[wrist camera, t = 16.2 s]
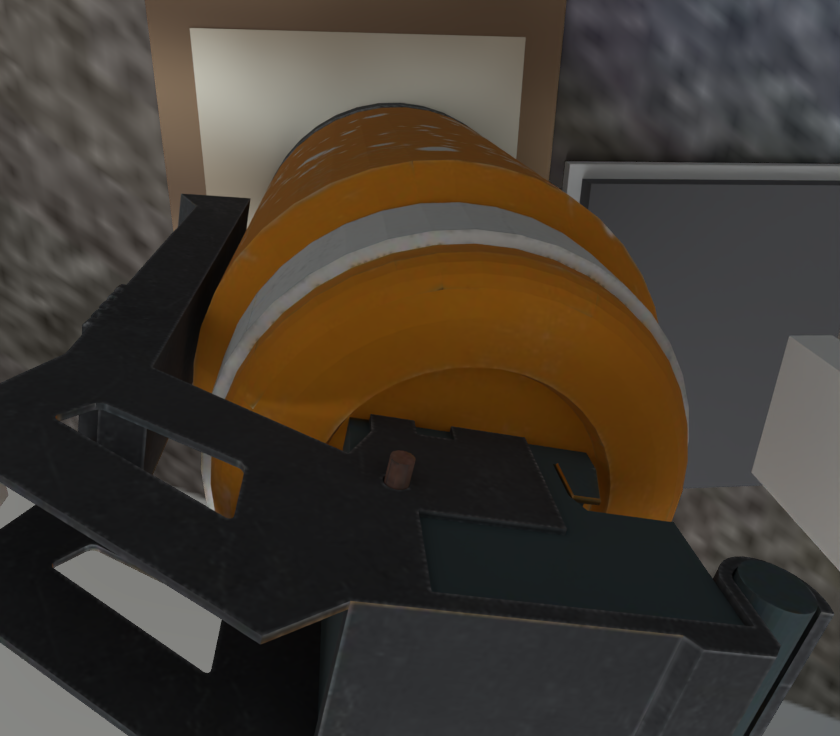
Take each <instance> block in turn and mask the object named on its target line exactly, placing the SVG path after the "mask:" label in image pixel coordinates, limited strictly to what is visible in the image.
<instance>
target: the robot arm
mask: <svg viewBox="0 0 840 736" xmlns="http://www.w3.org/2000/svg"><path fill="white" fill-rule="evenodd" d="M751 473H752V474H753V475H754V476H755V477H756V478H757V479H758V480H759V481H760V483H761V484H762V485H763V486H764V487H765V488H766V489H767V490H768V492H769V493H770V494H771V495H772V496H773V497H774V498H775V499H776V500H777V502H778V503H779V504H780V505H781V506H782V507H783V508H784V509H785V511H786V512H787V513H788V514H789V515H790V516H791V517H792V518H793V520H794V521H795V522H796V523H797V524H798V525H799V526H800V527H801V528H802V530H803V531H804V532H805V533H806V534H807V535H808V536H809V537H810V539H811V540H812V541H813V542H814V543H815V544H816V545H817V546H818V547H819V549H820V550H821V551H822V552H823V553H824V554H825V555H826V556H827V558H828V559H829V560H830V561H831V562H832V563H833V564H834V565H835V566H836V568H837V569H838V570H839V571H840V340H839V339H837V338H836V337H834V336H833V335H804V336H789V339H788V342H787V346H786V349H785V353H784V357H783V360H782V364H781V367H780V371H779V375H778V378H777V382H776V386H775V389H774V393H773V396H772V400H771V404H770V407H769V411H768V414H767V418H766V422H765V425H764V429H763V433H762V436H761V440H760V443H759V447H758V451H757V454H756V458H755V461H754V465H753V469H752V472H751ZM7 497H8V492H7V488H6V486H5V485H3V484H2V483H0V506H1V505H2V504H3V502H4V501H5V499H6V498H7Z"/></svg>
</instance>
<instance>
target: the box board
mask: <svg viewBox="0 0 840 736" xmlns="http://www.w3.org/2000/svg"><path fill="white" fill-rule="evenodd" d="M566 1H567V0H145V5H146V13H147V21H148V29H149V37H150V45H151V53H152V61H153V69H154V77H155V86H156V94H157V102H158V110H159V118H160V126H161V134H162V142H163V150H164V158H165V166H166V175H167V183H168V191H169V199H170V207H171V215H172V223H173V231H175V229H176V228H177V227H178V220H179V209H180V198H181V194H196V195H210V196H225V197H239V198H251V199H250V207H249V215H248V222H247V228H248V226H249V224H250V222H251V220H252V218H253V216H254V214H255V212H256V210H257V208H258V206H259V204H260V202H261V200H262V198H263V196H264V195H265V193H266V191H267V189H268V187H269V185H270V183H271V181H272V179H273V177H274V175H275V173H276V172H277V170H278V168H279V167H280V165H281V163H282V162H283V160H284V159H285V157H286V156H287V154H288V153H289V152H290V151H291V150H292V149H293V148H294V146H295V145H296V144H297V143H298V142H299V141H300V140H301V139H302V138H303V137H304V136H305V135H307V134H308V133H309V132H310V131H312V130H313V129H314V128H315V127H316V126H318V125H320V124H321V123H323V122H325V121H327V120H328V119H330V118H332V117H333V116H335V115H337V114H340V113H343V112H345V111H348V110H351V109H354V108H356V107H361V106H366V105H371V104H377V103H407V104H414V105H420V106H425V107H428V108H431V109H434V110H437V111H440V112H443V113H445V114H447V115H449V116H451V117H453V118H455V119H457V120H459V121H460V122H462V123H464V124H465V125H467V126H468V127H470V128H471V129H473V130H474V131H476V132H477V133H479V134H480V135H481V136H483V137H484V138H486V139H487V140H489V141H490V142H492V143H493V144H495V145H496V146H498V147H499V148H501V149H502V150H503V151H505V152H506V153H508V154H509V155H511V156H512V157H514V158H515V159H517V160H518V161H520V162H521V163H523V164H524V165H525V166H527V167H528V168H530V169H531V170H533V171H534V172H536V173H537V174H539V175H540V176H542V177H543V178H545V179H546V180H547V181H549V174H550V164H551V154H552V143H553V133H554V123H555V113H556V103H557V93H558V82H559V72H560V62H561V52H562V42H563V32H564V21H565V11H566ZM192 385H193V384H192Z"/></svg>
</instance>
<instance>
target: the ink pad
mask: <svg viewBox="0 0 840 736" xmlns="http://www.w3.org/2000/svg"><path fill="white" fill-rule="evenodd" d="M562 191H564V192H565V193H567V194H568V195H569V196H571V197H572V198H573V199H575V200H576V201H577V202H579V203H580V204H581V205H583V206H584V207H585V208H586V209H588V210H589V211H590V212H592V213H593V214H594V215H596V216H597V217H598V218H600V220H601V221H602V222H603V223H604V224H605V225H606V226H607V227H608V228H609V229H610V231H611V232H612V233H613V234H614V235H615V236H616V237H617V238H618V239H619V240H620V242H621V243H622V244H623V245H624V246H625V248H626V249H627V251H628V253H629V254H630V256H631V257H632V259H633V261H634V262H635V264H636V265H637V267H638V269H639V270H640V272H641V274H642V275H643V278H644V280H645V283H646V285H647V288H648V290H649V293H650V295H651V298H652V301H653V303H654V306H655V309H656V314H657V319H658V324H659V326H660V328H661V329H662V331H663V332H664V334H665V335H666V337H667V339H668V340H669V342H670V343H671V346H672V349H673V351H674V354H675V356H676V359H677V361H678V364H679V366H680V369H681V371H682V374H683V379H684V384H685V389H686V395H687V400H688V405H689V442H688V462H687V468H686V473H685V479H684V485H683V488H708V487H734V486H760V485H762V484H761V483H760V481H759V480H758V479H757V478H756V477H755V476H754V475H753V474H752V473H751V472H752V469H753V465H754V461H755V458H756V454H757V451H758V447H759V443H760V440H761V436H762V433H763V429H764V425H765V422H766V418H767V414H768V411H769V407H770V404H771V400H772V396H773V393H774V389H775V386H776V382H777V378H778V375H779V371H780V367H781V364H782V360H783V357H784V353H785V349H786V346H787V342H788V339H789V336H804V335H833V336H834V337H836V338H837V337H838V333H839V330H840V164H797V163H693V162H589V161H565V168H564V177H563V187H562Z"/></svg>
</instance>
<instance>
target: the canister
mask: <svg viewBox="0 0 840 736" xmlns="http://www.w3.org/2000/svg"><path fill="white" fill-rule="evenodd" d="M250 199H251V198H239V197H225V196H210V195H196V194H181V198H180V209H179V220H178V227H177V228H176V229H175V231H174V232H173V233H172V234H171V235H170V236H169V237H168V239H167V240H166V241H165V242H164V243H163V244H162V245H161V246H160V248H159V249H158V250H157V251H156V252H155V253H154V254H153V255H152V257H151V258H150V259H149V260H148V261H147V262H146V263H145V264H144V266H143V267H142V268H141V269H140V270H139V271H138V272H137V273H136V275H135V276H134V277H133V278H132V279H131V280H130V281H129V283H128V284H127V285H124V284H121V285H119V286H118V287H117V288H116V289H115V290H114V292H113V293H112V294H110V295H109V297H108V298H107V300H106V301H105V302H103V303H102V304H101V305H100V306H99V309H98V310H96V311H95V312H94V313H93V314H92V315H91V318H89V319H88V320H87V321H86V322H85V323H84V324H83V325H82V336H81V337H80V338H79V339H78V340H77V341H76V342H75V343H74V345H73V346H72V347H71V348H70V349H69V350H68V351H67V352H66V354H63V355H61V356H59V357H57V358H55V359H52V360H50V361H48V362H46V363H44V364H41V365H39V366H37V367H35V368H33V369H30V370H28V371H26V372H24V373H21V374H19V375H17V376H15V377H13V378H10V379H8V380H6V381H4V382H2V383H0V483H2V484H3V485H5V486H7V487H8V488H10V489H11V490H13V491H15V492H16V493H18V494H20V495H21V496H23V497H24V498H26V499H28V500H29V501H31V502H33V503H34V504H36V505H35V506H33V507H32V508H30V509H29V510H27V511H26V512H25V513H23V514H21V515H20V516H19V517H17V518H16V519H14V520H13V521H11V522H10V523H9V524H7V525H6V526H4V527H3V528H1V529H0V643H2V644H3V645H4V646H6V647H7V648H8V649H10V650H11V651H13V652H14V653H15V654H17V655H18V656H20V657H21V658H22V659H24V660H25V661H27V662H28V663H29V664H30V665H32V666H33V667H35V668H36V669H37V670H39V671H40V672H42V673H43V674H44V675H46V676H47V677H48V678H50V679H51V680H52V681H54V682H55V683H57V684H58V685H60V686H61V687H62V688H63V689H65V690H66V691H68V692H69V693H70V694H72V695H73V696H74V697H76V698H77V699H79V700H80V701H81V702H83V703H84V704H85V705H87V706H88V707H90V708H91V709H92V710H94V711H95V712H97V713H98V714H99V715H101V716H102V717H103V718H105V719H106V720H107V721H109V722H110V723H112V724H113V725H114V726H116V727H117V728H118V729H120V730H121V731H123V732H124V733H125V734H127V735H128V736H762V735H763V733H764V731H765V730H766V728H767V726H768V725H769V723H770V721H771V720H772V718H773V716H774V714H775V713H776V711H777V710H778V708H779V706H780V705H781V703H782V701H783V699H784V698H785V696H786V694H787V693H788V691H789V689H790V688H791V686H792V684H793V683H794V681H795V679H796V678H797V676H798V674H799V673H800V671H801V669H802V668H803V666H804V664H805V663H806V661H807V659H808V658H809V656H810V654H811V653H812V651H813V649H814V647H815V646H816V644H817V642H818V641H819V639H820V637H821V636H822V634H823V632H824V631H825V629H826V627H827V626H828V624H829V622H830V621H831V619H832V617H833V616H834V613H833V611H832V609H831V607H830V606H829V605H828V603H827V602H826V601H825V600H824V598H823V597H822V596H821V595H820V594H819V593H818V592H817V591H816V590H814V589H813V588H812V587H811V586H809V585H808V584H807V583H806V582H804V581H803V580H801V579H800V578H798V577H797V576H795V575H793V574H792V573H790V572H788V571H786V570H784V569H782V568H780V567H778V566H776V565H773V564H771V563H768V562H765V561H762V560H759V559H755V558H750V557H731V558H728V559H726V560H724V561H723V562H722V563H721V564H720V566H719V568H718V570H717V572H716V574H715V576H714V578H713V579H712V577H711V576H710V574H709V573H708V572H707V570H706V569H705V567H704V566H703V564H702V563H701V561H700V560H699V558H698V557H697V556H696V554H695V553H694V551H693V550H692V548H691V547H690V545H689V544H688V542H687V541H686V540H685V538H684V537H683V535H682V534H681V532H680V531H679V529H678V528H677V526H676V525H675V524H674V522H671V521H672V519H673V516H674V513H675V511H676V508H677V505H678V502H679V499H680V496H681V494H682V490H683V485H684V479H685V473H686V468H687V462H688V442H689V405H688V400H687V395H686V389H685V384H684V379H683V374H682V371H681V369H680V366H679V364H678V361H677V359H676V356H675V354H674V351H673V349H672V346H671V343H670V342H669V340H668V339H667V337H666V335H665V334H664V332H663V331H662V329H661V328H660V326H659V324H658V319H657V314H656V309H655V306H654V303H653V301H652V298H651V295H650V293H649V290H648V288H647V285H646V283H645V280H644V278H643V275H642V274H641V272H640V270H639V269H638V267H637V265H636V264H635V262H634V261H633V259H632V257H631V256H630V254H629V253H628V251H627V249H626V248H625V246H624V245H623V244H622V243H621V242H620V240H619V239H618V238H617V237H616V236H615V235H614V234H613V233H612V232H611V231H610V229H609V228H608V227H607V226H606V225H605V224H604V223H603V222H602V221H601V220H600V218H598V217H597V216H596V215H594V214H593V213H592V212H590V211H589V210H588V209H586V208H585V207H584V206H583V205H581V204H580V203H579V202H577V201H576V200H575V199H573V198H572V197H571V196H569V195H568V194H567V193H565V192H564V191H562V190H561V189H559V188H558V187H556V186H555V185H553V184H552V183H550V182H549V181H547V180H546V179H545V178H543V177H542V176H540V175H539V174H537V173H536V172H534V171H533V170H531V169H530V168H528V167H527V166H525V165H524V164H523V163H521V162H520V161H518V160H517V159H515V158H514V157H512V156H511V155H509V154H508V153H506V152H505V151H503V150H502V149H501V148H499V147H498V146H496V145H495V144H493V143H492V142H490V141H489V140H487V139H486V138H484V137H483V136H481V135H480V134H479V133H477V132H476V131H474V130H473V129H471V128H470V127H468V126H467V125H465V124H464V123H462V122H460V121H459V120H457V119H455V118H453V117H451V116H449V115H447V114H445V113H443V112H440V111H437V110H434V109H431V108H428V107H425V106H420V105H414V104H407V103H377V104H371V105H366V106H361V107H356V108H354V109H351V110H348V111H345V112H343V113H340V114H337V115H335V116H333V117H332V118H330V119H328V120H327V121H325V122H323V123H321V124H320V125H318V126H316V127H315V128H314V129H313V130H312V131H310V132H309V133H308V134H307V135H305V136H304V137H303V138H302V139H301V140H300V141H299V142H298V143H297V144H296V145H295V146H294V148H293V149H292V150H291V151H290V152H289V153H288V154H287V156H286V157H285V159H284V160H283V162H282V163H281V165H280V167H279V168H278V170H277V172H276V173H275V175H274V177H273V179H272V181H271V183H270V185H269V187H268V189H267V191H266V193H265V195H264V196H263V198H262V200H261V202H260V204H259V206H258V208H257V210H256V212H255V214H254V216H253V218H252V220H251V222H250V224H249V226H248V228H247V222H248V215H249V207H250ZM192 384H193V385H192ZM77 415H79V426H78V432H77V431H76V430H74V429H72V428H71V427H69V426H67V425H65V424H64V423H62V422H60V421H61V420H64V419H67V418H71V417H74V416H77ZM168 438H170V439H172V440H175V441H177V442H179V443H181V444H184V445H186V446H188V447H191V448H193V449H195V450H198V451H200V452H201V472H202V478H203V484H204V490H205V496H206V502H207V505H208V507H207V506H205V505H203V504H202V503H200V502H198V501H196V500H195V499H193V498H191V497H190V496H188V495H186V494H184V493H183V492H181V491H179V490H177V489H176V488H174V487H172V486H171V485H169V484H167V483H165V482H164V481H162V480H160V479H159V478H157V477H155V476H153V473H154V470H155V468H156V466H157V464H158V461H159V459H160V457H161V454H162V452H163V450H164V448H165V445H166V443H167V441H168ZM90 550H95V551H99V552H101V553H103V554H105V555H107V556H109V557H111V558H113V559H115V560H117V561H119V562H121V563H123V564H125V565H127V566H129V567H131V568H133V569H135V570H138V571H139V572H141V573H143V574H145V575H147V576H150V577H151V578H154V579H155V580H158V581H160V582H162V583H164V584H166V585H167V586H169V587H170V588H172V589H174V590H175V591H177V592H178V593H180V594H182V595H183V596H185V597H187V598H188V599H190V600H191V601H193V602H195V603H196V604H198V605H200V606H201V607H203V608H204V609H206V610H208V611H209V612H211V613H213V614H214V615H216V616H217V617H219V618H220V619H222V622H221V626H220V631H219V636H218V640H217V645H216V650H215V655H214V660H213V664H212V669H211V672H209V673H205V672H203V671H201V670H200V669H199V668H197V667H196V666H194V665H193V664H191V663H190V662H188V661H187V660H186V659H184V658H183V657H181V656H180V655H178V654H177V653H175V652H174V651H172V650H171V649H170V648H168V647H167V646H165V645H164V644H162V643H161V642H159V641H158V640H157V639H155V638H154V637H152V636H151V635H149V634H148V633H146V632H145V631H143V630H142V629H141V628H139V627H138V626H136V625H135V624H133V623H132V622H131V621H129V620H127V619H126V618H125V617H123V616H122V615H120V614H119V613H117V612H116V611H115V610H113V609H112V608H110V607H109V606H107V605H106V604H104V603H103V602H102V601H100V600H99V599H97V598H96V597H94V596H93V595H91V594H90V593H89V592H87V591H85V590H84V589H83V588H81V587H80V586H78V585H77V584H75V583H74V582H72V581H71V580H70V579H68V578H67V577H65V576H64V575H62V574H61V573H60V572H58V571H57V570H55V569H54V568H55V567H56V566H58V565H60V564H62V563H64V562H66V561H68V560H70V559H72V558H74V557H76V556H78V555H80V554H82V553H84V552H86V551H90Z"/></svg>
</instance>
